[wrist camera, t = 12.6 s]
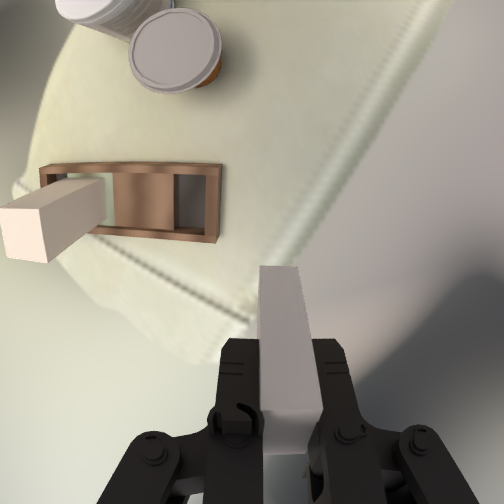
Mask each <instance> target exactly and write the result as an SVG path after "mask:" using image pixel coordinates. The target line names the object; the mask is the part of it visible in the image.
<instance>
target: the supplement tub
mask: <svg viewBox="0 0 504 504" xmlns="http://www.w3.org/2000/svg"><path fill="white" fill-rule="evenodd" d="M55 3H56V8H57V10H58V12H59V13H60V14H61V15H62V16H63V17H65V18H67V19H69V20H70V21H72V22H74V23H77V24H80V25H83V26H86V27H88V28H91V29H94V30H97V31H99V32H102V33H105V34H107V35H110V36H112V37H115V38H118V39H120V40H123V41H126V42H131V40H132V37H133V35H134V33H135V32H136V30H137V29H138V27H139V26H140V25H141V24H142V23H143V22H144V21H145V20H146V19H148V18H149V17H151V16H152V15H154V14H156V13H158V12H161V11H163V10H166V9H172V8H174V0H55Z"/></svg>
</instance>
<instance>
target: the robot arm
mask: <svg viewBox="0 0 504 504" xmlns="http://www.w3.org/2000/svg"><path fill="white" fill-rule="evenodd" d="M207 422H208V425H207V426H206V427H205V428H204V429H202V430H201V431H199V432H197V433H193V434H189V435H184V436H178V437H171V436H169V435H168V434H166V433H164V432H159V431H149V432H144V433H142V434H140V435H138V436H137V437H136V438H135V439H134V440H133V441H132V442H131V443H130V445H129V447H128V449H127V451H126V452H125V454H124V456H123V458H122V459H121V461H120V463H119V465H118V467H117V468H116V470H115V472H114V473H113V475H112V477H111V479H110V480H109V482H108V484H107V486H106V488H105V489H104V491H103V493H102V495H101V497H100V498H99V500H98V502H97V504H187V502H188V500H189V497H190V495H192V494H198V493H203V492H204V494H203V504H263V454H303V453H306V450H307V448H308V454H309V462H308V463H307V465H306V467H305V469H304V471H303V476H302V478H306V477H307V485H308V498H309V504H479V502H478V500H477V499H476V497H475V495H474V493H473V492H472V490H471V488H470V487H469V485H468V483H467V481H466V480H465V478H464V476H463V475H462V473H461V471H460V470H459V468H458V467H457V465H456V463H455V461H454V460H453V458H452V457H451V455H450V453H449V452H448V450H447V448H446V447H445V445H444V444H443V442H442V440H441V439H440V437H439V436H438V434H437V433H436V432H435V431H434V430H433V429H432V428H430V427H427V426H425V425H418V424H417V425H413V426H410V427H408V428H407V429H405V430H404V431H403V432H394V431H388V430H382V429H379V428H375V427H374V426H372V425H370V424H368V423H367V422H366V421H365V420H364V418H363V417H362V416H361V414H360V411H359V408H358V404H357V400H356V396H355V392H354V388H353V384H352V380H351V376H350V374H349V368H348V365H347V361H346V357H345V353H344V349H343V348H342V347H341V346H340V344H339V343H338V342H337V341H336V340H335V339H311V334H310V329H309V323H308V318H307V312H306V307H305V302H304V297H303V292H302V286H301V281H300V276H299V271H298V267H291V266H260V271H259V290H258V309H257V339H238V338H229V339H228V341H227V342H226V343H225V345H224V346H223V348H222V349H221V358H220V366H219V375H218V384H217V393H216V402H215V406H214V407H213V408H212V409H211V410H210V412H209V415H208V418H207Z"/></svg>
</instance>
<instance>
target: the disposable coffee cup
mask: <svg viewBox="0 0 504 504" xmlns="http://www.w3.org/2000/svg"><path fill="white" fill-rule="evenodd" d="M220 54H221V36H220V33H219V30H218V28H217V26H216V24H215V23H214V22H213V21H212V20H211V19H210V18H209V17H208V16H207V15H205V14H204V13H202V12H200V11H197V10H194V9H191V8H172V9H166V10H163V11H161V12H158V13H156V14H154V15H152V16H151V17H149V18H148V19H146V20H145V21H144V22H143V23H142V24H141V25H140V26H139V27H138V29H137V30H136V32H135V33H134V35H133V37H132V40H131V42H130V46H129V62H130V67H131V70H132V73H133V74H134V76H135V78H136V79H137V80H138V81H139V83H140V84H141V85H143V86H144V87H146V88H147V89H149V90H151V91H153V92H157V93H162V94H175V93H181V92H184V91H187V90H190V89H192V88H195V87H202V86H205V85H207V84H209V83H211V82H212V81H213V80H214V79H215V78H216V77H217V75H218V73H219V71H220V68H221V59H220Z"/></svg>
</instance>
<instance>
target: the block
mask: <svg viewBox="0 0 504 504" xmlns="http://www.w3.org/2000/svg"><path fill="white" fill-rule="evenodd" d="M105 219H107V211H106V197H105V178H104V177H83V178H64V179H62V180H59V181H57V182H54V183H52V184H50V185H47V186H45V187H43V188H40V189H38V190H36V191H33V192H31V193H29V194H27V195H25V196H22V197H20V198H18V199H16V200H14V201H12V202H10V203H8V204H6V205H3V206H1V207H0V225H1V230H2V235H3V240H4V245H5V250H6V254H7V257H9V258H15V259H22V260H28V261H36V262H42V263H49V262H50V261H51V260H53V259H54V258H55V257H56V256H58V255H59V254H60V253H61V252H63V251H64V250H65V249H66V248H68V247H69V246H70V245H72V244H73V243H74V242H76V241H77V240H78V239H79V238H81V237H82V236H83V235H85V234H86V233H87V232H89V231H90V230H91V229H93V228H94V227H96V226H97V225H98V224H100V223H101V222H102V221H104V220H105Z"/></svg>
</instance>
